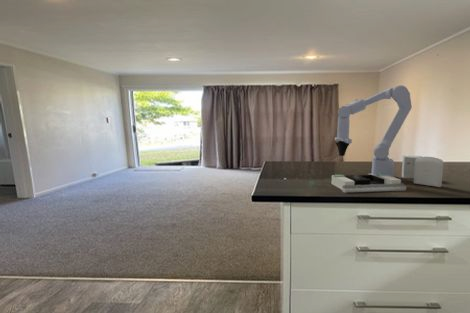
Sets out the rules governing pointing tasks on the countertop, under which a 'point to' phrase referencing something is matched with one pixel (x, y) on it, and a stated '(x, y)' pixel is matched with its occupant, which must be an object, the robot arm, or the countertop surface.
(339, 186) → the block
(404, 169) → the small box
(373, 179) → the battery charger
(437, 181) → the photo printer
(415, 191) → the countertop surface
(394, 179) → the block
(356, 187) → the rail
